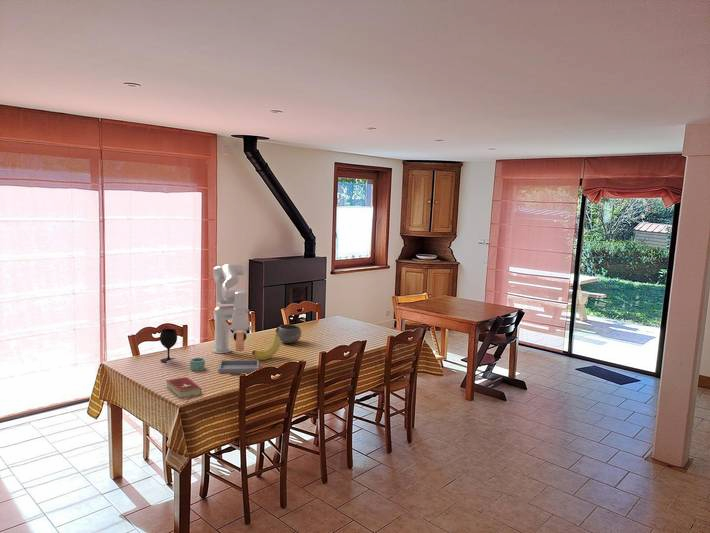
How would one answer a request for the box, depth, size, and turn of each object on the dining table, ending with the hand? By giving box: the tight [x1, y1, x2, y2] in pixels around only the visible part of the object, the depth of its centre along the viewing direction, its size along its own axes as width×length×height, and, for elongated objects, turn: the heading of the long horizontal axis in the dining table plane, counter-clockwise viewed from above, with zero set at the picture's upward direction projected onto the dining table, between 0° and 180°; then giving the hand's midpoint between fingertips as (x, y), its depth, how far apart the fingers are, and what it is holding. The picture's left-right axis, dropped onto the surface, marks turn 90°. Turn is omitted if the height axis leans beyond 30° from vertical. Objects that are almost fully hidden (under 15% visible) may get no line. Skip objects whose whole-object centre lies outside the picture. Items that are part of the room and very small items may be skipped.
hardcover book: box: [165, 376, 202, 398], centre depth 293 cm, size 12×21×4 cm, turn 38°
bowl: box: [278, 323, 302, 344], centre depth 402 cm, size 18×18×13 cm
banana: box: [251, 326, 281, 361], centre depth 358 cm, size 23×6×20 cm, turn 138°
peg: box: [235, 331, 245, 352], centre depth 331 cm, size 5×5×11 cm
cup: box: [189, 357, 206, 372], centre depth 328 cm, size 8×8×6 cm
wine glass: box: [159, 328, 178, 364], centre depth 343 cm, size 10×10×20 cm
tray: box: [218, 359, 260, 375], centre depth 333 cm, size 18×24×4 cm
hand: (239, 339), depth 331 cm, fingers closed on peg, 5 cm apart
